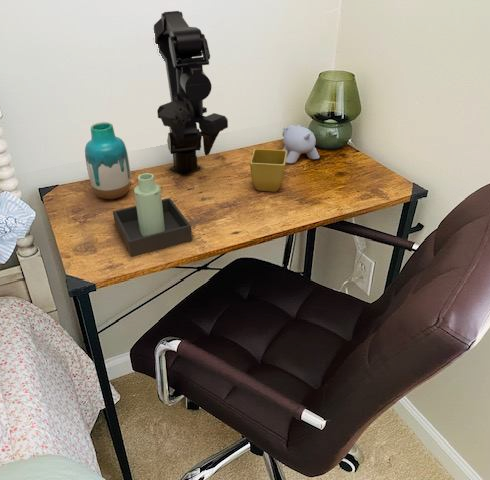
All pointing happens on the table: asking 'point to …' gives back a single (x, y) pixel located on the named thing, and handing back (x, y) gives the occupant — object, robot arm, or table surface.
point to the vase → (107, 162)
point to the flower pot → (267, 169)
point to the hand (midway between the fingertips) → (193, 150)
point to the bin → (138, 244)
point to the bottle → (149, 205)
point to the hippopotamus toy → (299, 143)
